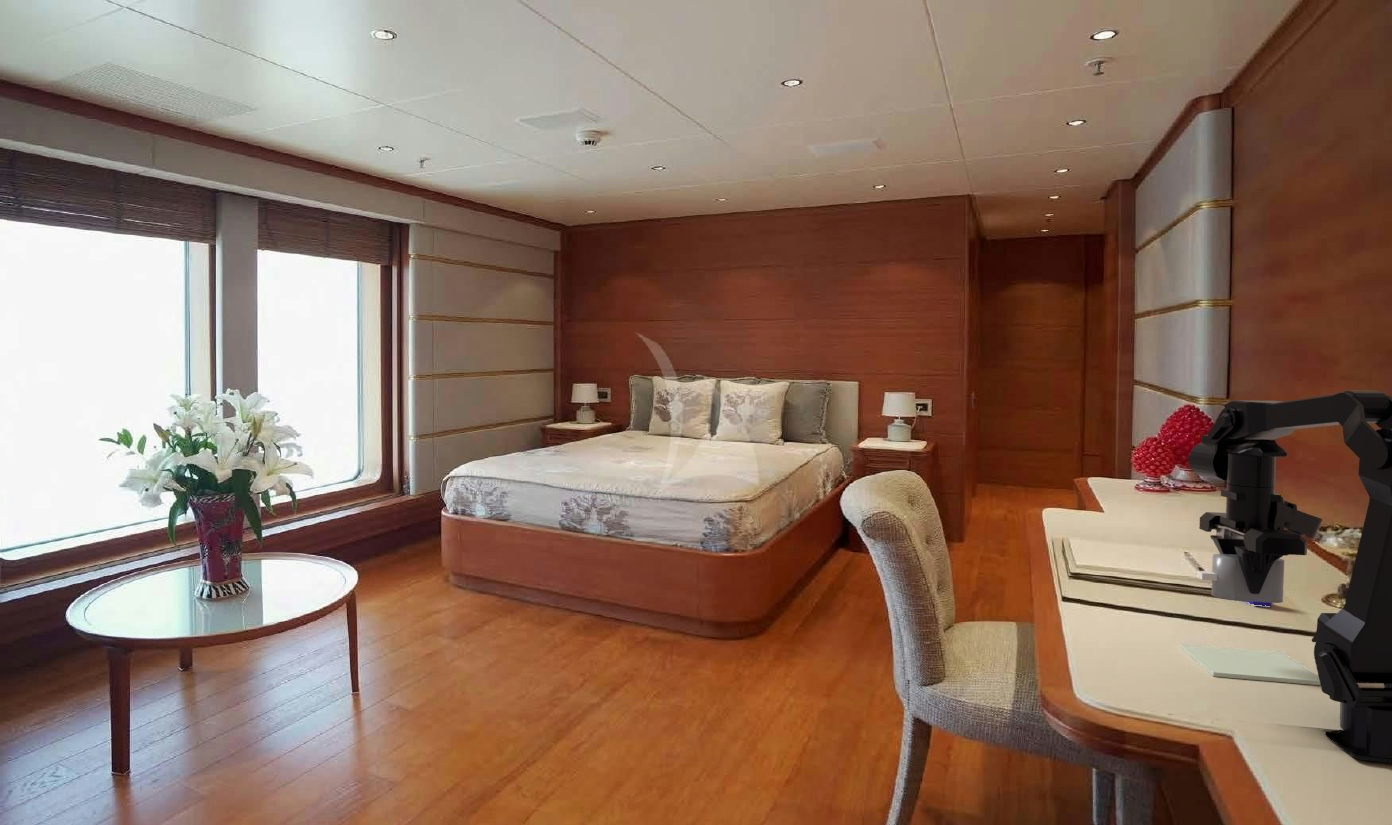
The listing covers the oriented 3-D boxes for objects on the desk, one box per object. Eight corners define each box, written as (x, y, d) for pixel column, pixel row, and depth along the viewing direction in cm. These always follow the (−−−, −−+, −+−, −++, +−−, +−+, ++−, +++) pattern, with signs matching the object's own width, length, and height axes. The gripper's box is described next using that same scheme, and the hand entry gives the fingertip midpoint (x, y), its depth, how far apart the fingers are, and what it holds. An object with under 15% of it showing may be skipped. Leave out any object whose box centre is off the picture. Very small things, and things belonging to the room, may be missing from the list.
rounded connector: (1288, 603, 109) (1290, 562, 109) (1205, 598, 111) (1206, 558, 111) (1273, 596, 113) (1275, 556, 113) (1193, 591, 115) (1194, 552, 115)
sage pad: (1327, 685, 105) (1327, 681, 105) (1213, 676, 108) (1213, 672, 108) (1281, 655, 116) (1281, 651, 116) (1180, 647, 120) (1180, 643, 120)
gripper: (1354, 496, 100) (1349, 611, 101) (1278, 479, 119) (1275, 577, 119) (1259, 493, 103) (1255, 606, 103) (1199, 477, 121) (1196, 573, 122)
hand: (1247, 589), depth 112 cm, fingers closed on rounded connector, 4 cm apart
